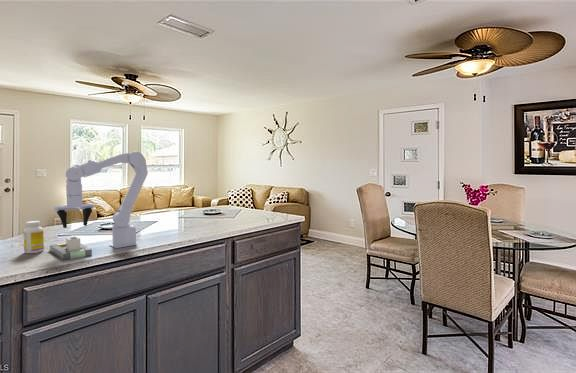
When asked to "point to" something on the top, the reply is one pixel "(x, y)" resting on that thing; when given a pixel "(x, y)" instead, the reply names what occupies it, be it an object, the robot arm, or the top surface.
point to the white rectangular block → (72, 243)
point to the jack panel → (65, 255)
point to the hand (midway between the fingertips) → (75, 226)
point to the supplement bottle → (33, 237)
